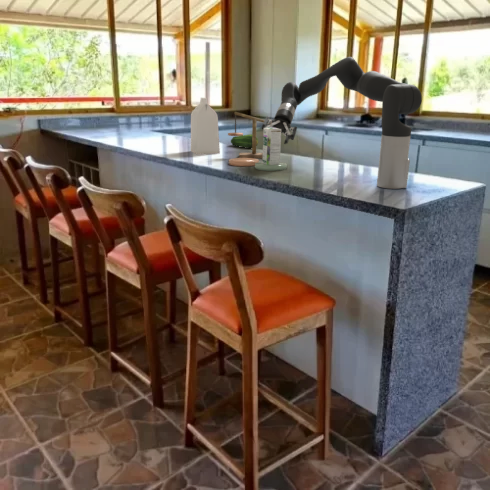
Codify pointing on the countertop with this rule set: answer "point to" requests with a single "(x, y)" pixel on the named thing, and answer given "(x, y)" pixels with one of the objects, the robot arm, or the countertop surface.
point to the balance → (253, 154)
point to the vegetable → (243, 141)
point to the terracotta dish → (243, 161)
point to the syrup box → (271, 146)
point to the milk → (204, 129)
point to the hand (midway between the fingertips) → (275, 139)
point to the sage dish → (270, 167)
